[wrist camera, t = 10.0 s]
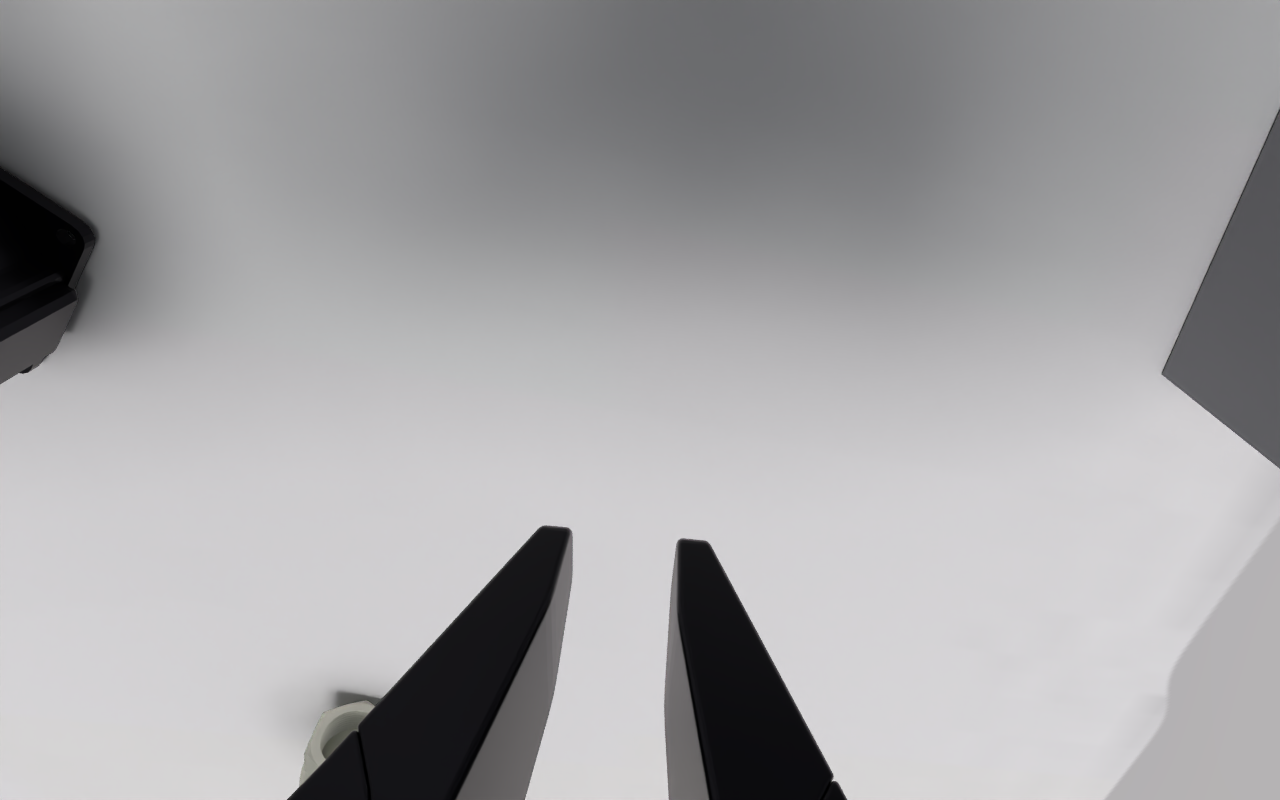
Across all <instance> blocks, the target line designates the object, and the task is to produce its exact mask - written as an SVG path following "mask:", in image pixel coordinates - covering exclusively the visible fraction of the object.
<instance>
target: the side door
mask: <svg viewBox="0 0 1280 800" xmlns="http://www.w3.org/2000/svg"><path fill="white" fill-rule="evenodd" d="M1162 375H1163V376H1164V377H1166V378H1167V379H1168V380H1169V381H1171V382H1172V383H1173V384H1174V385H1176V386H1177V387H1178V388H1179V389H1181V390H1182V391H1183V392H1184V393H1186V394H1187V395H1188V396H1189V397H1191V398H1192V399H1193V400H1194V401H1196V402H1197V403H1198V404H1199V405H1201V406H1202V407H1203V408H1204V409H1206V410H1207V411H1208V412H1210V413H1211V414H1212V415H1213V416H1215V417H1216V418H1217V419H1218V420H1220V421H1221V422H1222V423H1223V424H1225V425H1226V426H1227V427H1228V428H1230V429H1231V430H1232V431H1233V432H1235V433H1236V434H1237V435H1238V436H1240V437H1241V438H1242V439H1243V440H1245V441H1246V442H1247V443H1248V444H1250V445H1251V446H1252V447H1253V448H1255V449H1256V450H1257V451H1258V452H1260V453H1261V454H1262V455H1263V456H1265V457H1266V458H1267V459H1268V460H1270V461H1271V462H1272V463H1273V464H1275V465H1276V466H1277V467H1278V468H1280V112H1279V114H1278V116H1277V119H1276V121H1275V123H1274V125H1273V127H1272V130H1271V132H1270V134H1269V136H1268V139H1267V141H1266V143H1265V145H1264V148H1263V150H1262V152H1261V154H1260V156H1259V159H1258V161H1257V163H1256V165H1255V168H1254V170H1253V172H1252V174H1251V177H1250V179H1249V181H1248V183H1247V186H1246V188H1245V190H1244V192H1243V194H1242V197H1241V199H1240V201H1239V203H1238V206H1237V208H1236V210H1235V212H1234V215H1233V217H1232V219H1231V221H1230V223H1229V226H1228V228H1227V230H1226V232H1225V235H1224V237H1223V239H1222V241H1221V244H1220V246H1219V248H1218V250H1217V252H1216V255H1215V257H1214V259H1213V261H1212V264H1211V266H1210V268H1209V270H1208V273H1207V275H1206V277H1205V279H1204V282H1203V284H1202V286H1201V288H1200V290H1199V293H1198V295H1197V297H1196V299H1195V302H1194V304H1193V306H1192V308H1191V311H1190V313H1189V315H1188V317H1187V319H1186V322H1185V324H1184V326H1183V328H1182V331H1181V333H1180V335H1179V337H1178V340H1177V342H1176V344H1175V346H1174V349H1173V351H1172V353H1171V355H1170V357H1169V360H1168V362H1167V364H1166V366H1165V369H1164V371H1163V373H1162Z"/></svg>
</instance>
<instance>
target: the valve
mask: <svg viewBox="0 0 1280 800" xmlns="http://www.w3.org/2000/svg"><path fill="white" fill-rule="evenodd" d="M374 707H375V706H374V705H373V704H371V703H370V702H369V701H367V700H366V701H360V702H355V703H351V704H346V705H343V706H340V707H337V708H334V709H331V710H329V711H326V712H324V713H323V714H322V716H321V718H320V720H319V722H318V724H317V726H316V728H315V730H314V732H313V734H312V737H311V739H310V741H309V743H308V746H307V748H306V751H305V753H304V764H303V767H302V770H301V775H300V786H301V785H302V784H303V783H304V782H305V781H306V780H307V779H308V778H309V777H310V775H311V774H312V773H313V772H314V771H315V770H316V769H317V768H318V767H319V766H320V765H321V764H322V763H323V762H324V761H325V760H326V759H327V758H328V757H329V756H330V754H331V753H332V752H333V751H334V750H335V749H336V748H337V747H338V746H339V745H340V743H341V742H342V741H343V740H344V739H345V738H346V737H347V736H348V735H349V734H350V733H351V732H352V731H354V730H355V731H358V725H359V723H360V722H361V721H362V720H363V719H364V718H365V717H366V716H367V715H368V713H369V712H370V711H371V710H372V709H373V708H374ZM300 786H299V787H300Z"/></svg>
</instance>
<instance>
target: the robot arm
mask: <svg viewBox="0 0 1280 800" xmlns="http://www.w3.org/2000/svg"><path fill="white" fill-rule="evenodd" d="M67 231H69V232H70V233H71V234H72V235H73V236H74V238H75V240H74V239H73V238H72V237H70V236H69V234H68V232H67ZM94 244H95V237H94V234H93V232H92V230H91V229H90V228H89V226H88V225H87V224H85V223H84V222H83V221H82V220H80V219H79V218H77V217H76V216H74V215H72V214H71V213H69V212H68V211H66V210H65V209H63V208H62V207H60V206H59V205H57V204H56V203H54V202H52V201H51V200H49V199H48V198H46V197H45V196H43V195H42V194H40V193H39V192H37V191H36V190H34V189H33V188H31V187H29V186H28V185H26V184H25V183H23V182H22V181H20V180H19V179H17V178H16V177H14V176H13V175H11V174H9V173H8V172H6V171H5V170H3V169H2V168H0V384H2V383H3V382H5V381H6V380H8V379H10V378H11V377H13V376H15V375H16V374H18V373H22V374H24V373H28V372H30V371H31V370H33V369H34V368H36V367H38V366H39V365H40V364H41V362H42V360H43V358H44V357H46V356H47V355H49V354H51V353H52V352H54V351H55V350H56V348H57V346H58V344H59V342H60V340H61V338H62V335H63V333H64V331H65V329H66V327H67V324H68V322H69V320H70V318H71V316H72V314H73V311H74V309H75V307H76V305H77V303H78V295H77V291H75V290H74V289H75V287H76V284H77V282H78V280H79V278H80V275H81V273H82V271H83V269H84V267H85V264H86V262H87V260H88V258H89V256H90V253H91V251H92V249H93V247H94ZM572 571H573V536H572V531H571V530H570V529H569V528H567V527H557V526H542V527H540V528H539V529H538V530H537V531H536V532H535V533H534V534H533V535H532V536H531V537H530V538H529V539H528V541H527V542H526V543H525V544H524V545H523V546H522V547H521V548H520V549H519V550H518V551H517V552H516V554H515V555H514V556H513V557H512V558H511V559H510V560H509V561H508V562H507V563H506V564H505V566H504V567H503V568H502V569H501V570H500V571H499V572H498V573H497V574H496V575H495V576H494V578H493V579H492V580H491V581H490V582H489V583H488V584H487V585H486V586H485V587H484V588H483V589H482V591H481V592H480V593H479V594H478V595H477V596H476V597H475V598H474V599H473V600H472V601H471V603H470V604H469V605H468V606H467V607H466V608H465V609H464V610H463V611H462V612H461V613H460V614H459V616H458V617H457V618H456V619H455V620H454V621H453V622H452V623H451V624H450V625H449V626H448V628H447V629H446V630H445V631H444V632H443V633H442V634H441V635H440V636H439V637H438V638H437V640H436V641H435V642H434V643H433V644H432V645H431V646H430V647H429V648H428V649H427V650H426V651H425V653H424V654H423V655H422V656H421V657H420V658H419V659H418V660H417V661H416V662H415V663H414V665H413V666H412V667H411V668H410V669H409V670H408V671H407V672H406V673H405V674H404V675H403V676H402V678H401V679H400V680H399V681H398V682H397V683H396V684H395V685H394V686H393V687H392V688H391V690H390V691H389V692H388V693H387V694H386V695H385V696H384V697H383V698H382V699H381V700H380V702H379V703H378V704H377V705H376V706H375V707H374V708H373V709H372V710H371V711H370V712H369V713H368V715H367V716H366V717H365V718H364V719H363V720H362V721H361V722H360V723H359V725H358V731H355V730H354V731H352V732H351V733H350V734H349V735H348V736H347V737H346V738H345V739H344V740H343V741H342V742H341V743H340V745H339V746H338V747H337V748H336V749H335V750H334V751H333V752H332V753H331V754H330V756H329V757H328V758H327V759H326V760H325V761H324V762H323V763H322V764H321V765H320V766H319V767H318V768H317V769H316V770H315V771H314V772H313V773H312V774H311V775H310V777H309V778H308V779H307V780H306V781H305V782H304V783H303V784H302V785H301V786H300V787H299V788H298V789H297V790H296V791H295V792H294V793H293V794H292V795H291V796H290V797H289V798H288V799H287V800H525V797H526V794H527V790H528V786H529V783H530V779H531V776H532V772H533V768H534V765H535V761H536V758H537V754H538V751H539V747H540V743H541V740H542V736H543V733H544V729H545V726H546V722H547V718H548V715H549V711H550V707H551V703H552V699H553V695H554V690H555V684H556V679H557V673H558V667H559V661H560V654H561V648H562V641H563V635H564V629H565V622H566V616H567V610H568V603H569V597H570V591H571V583H572ZM664 714H665V738H666V756H667V773H668V791H669V800H847V798H846V797H845V795H844V793H843V791H842V789H841V787H840V785H839V784H838V782H836V781H832V780H833V773H832V771H831V769H830V767H829V765H828V764H827V762H826V760H825V758H824V756H823V754H822V752H821V751H820V749H819V747H818V745H817V743H816V741H815V739H814V737H813V736H812V734H811V732H810V730H809V728H808V726H807V724H806V723H805V721H804V719H803V717H802V715H801V713H800V711H799V709H798V708H797V706H796V704H795V702H794V700H793V698H792V696H791V694H790V693H789V691H788V689H787V687H786V685H785V683H784V681H783V680H782V678H781V676H780V674H779V672H778V670H777V668H776V666H775V665H774V663H773V661H772V659H771V657H770V655H769V653H768V651H767V650H766V648H765V646H764V644H763V642H762V640H761V638H760V637H759V635H758V633H757V631H756V629H755V627H754V625H753V623H752V622H751V620H750V618H749V616H748V614H747V612H746V610H745V609H744V607H743V605H742V603H741V601H740V599H739V597H738V595H737V594H736V592H735V590H734V588H733V586H732V584H731V582H730V580H729V579H728V577H727V575H726V573H725V571H724V569H723V567H722V566H721V564H720V562H719V560H718V558H717V556H716V554H715V552H714V551H713V549H712V547H711V545H710V544H709V543H708V542H707V541H704V540H693V539H680V540H678V542H677V545H676V552H675V560H674V568H673V576H672V585H671V597H670V613H669V629H668V645H667V661H666V678H665V700H664Z"/></svg>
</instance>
